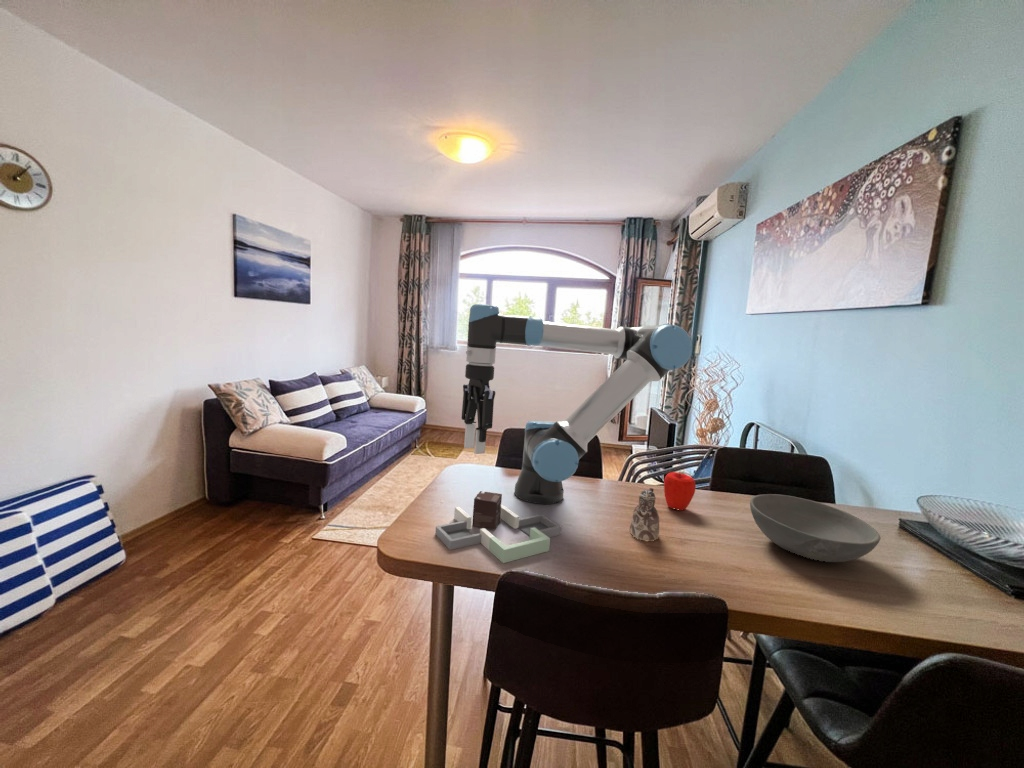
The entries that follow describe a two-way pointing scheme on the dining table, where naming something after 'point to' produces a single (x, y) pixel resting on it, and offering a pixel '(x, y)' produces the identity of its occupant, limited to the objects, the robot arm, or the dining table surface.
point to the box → (487, 510)
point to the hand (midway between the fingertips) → (474, 450)
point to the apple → (678, 490)
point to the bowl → (812, 528)
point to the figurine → (645, 517)
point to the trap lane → (461, 537)
